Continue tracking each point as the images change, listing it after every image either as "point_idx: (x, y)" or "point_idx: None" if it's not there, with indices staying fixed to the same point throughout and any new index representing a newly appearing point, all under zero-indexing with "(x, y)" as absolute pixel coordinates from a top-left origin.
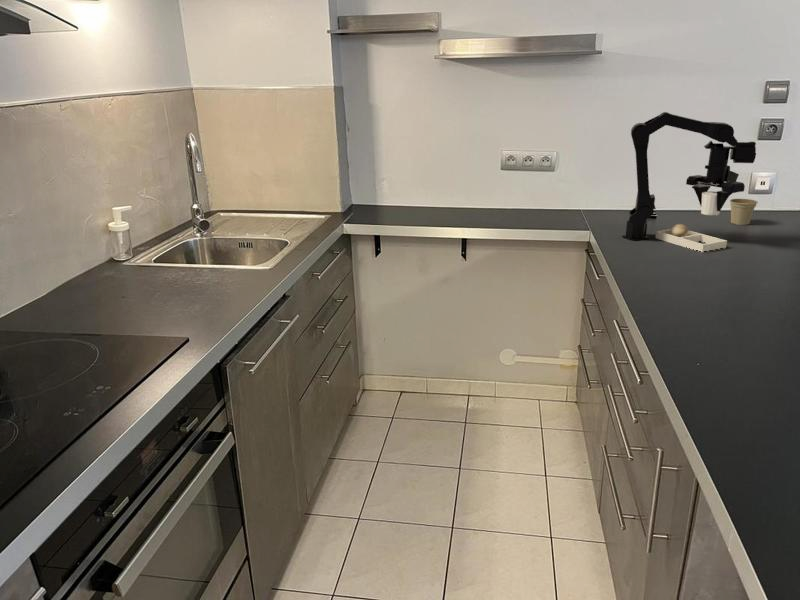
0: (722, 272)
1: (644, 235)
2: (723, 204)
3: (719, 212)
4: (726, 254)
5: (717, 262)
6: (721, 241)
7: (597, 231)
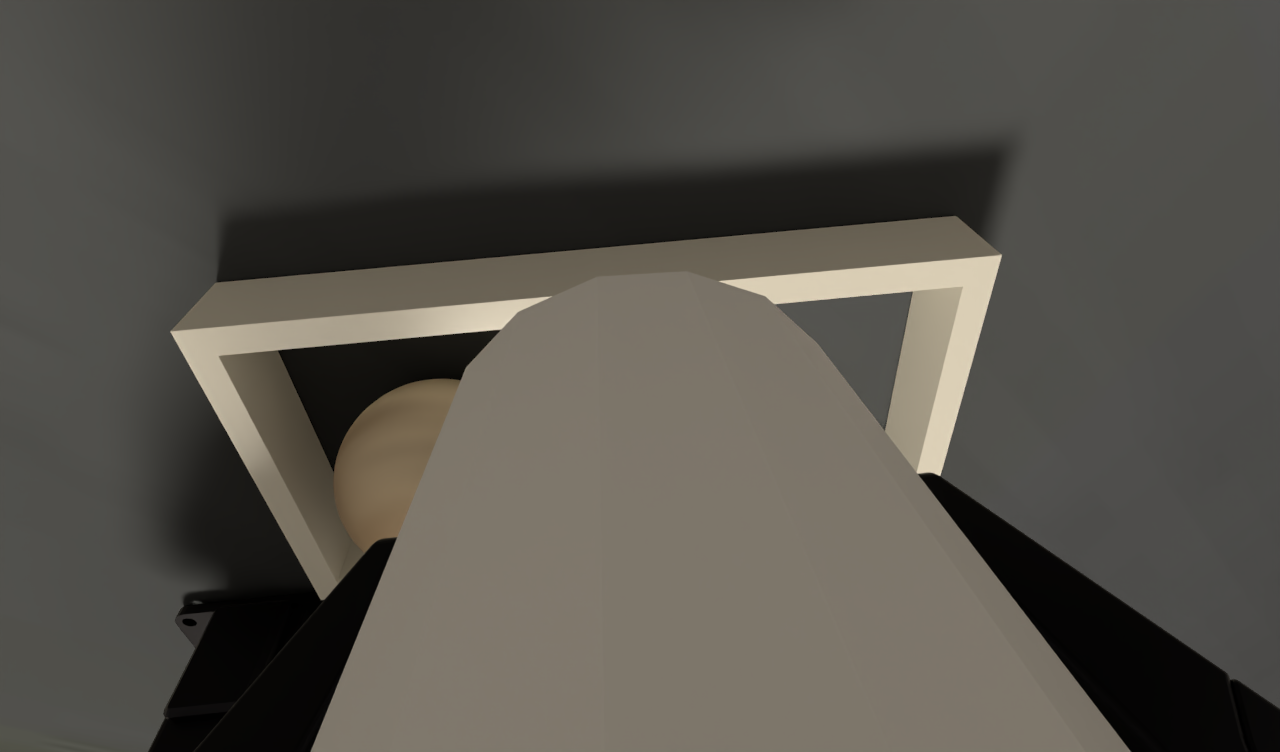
0: (1222, 615)
1: (305, 621)
2: (1102, 604)
3: (837, 371)
4: (1072, 367)
5: (1114, 538)
6: (972, 335)
7: (27, 739)
